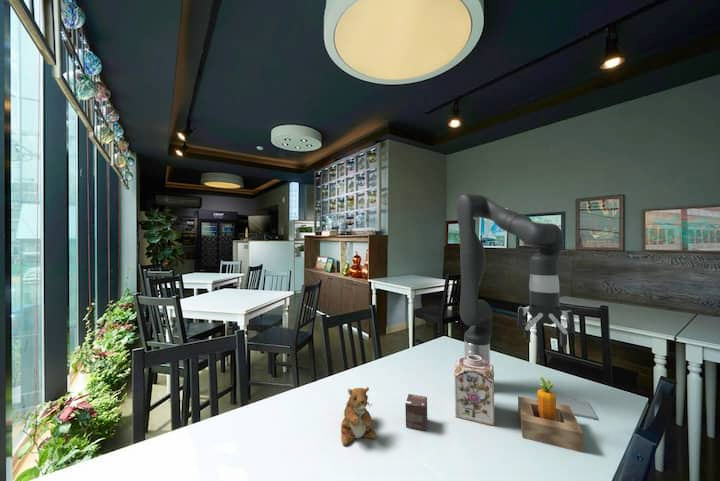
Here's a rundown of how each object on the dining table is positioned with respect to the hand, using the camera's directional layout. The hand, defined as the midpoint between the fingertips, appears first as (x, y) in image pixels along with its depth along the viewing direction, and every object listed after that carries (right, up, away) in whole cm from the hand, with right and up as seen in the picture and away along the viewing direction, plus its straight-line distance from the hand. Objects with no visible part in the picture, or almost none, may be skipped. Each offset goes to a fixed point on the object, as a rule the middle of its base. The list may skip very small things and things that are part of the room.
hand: (545, 343), depth 84 cm
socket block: (0, -25, -1) cm, 25 cm away
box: (-38, -26, +3) cm, 46 cm away
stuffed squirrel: (-57, -26, 0) cm, 62 cm away
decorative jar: (-18, -26, +9) cm, 33 cm away
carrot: (0, -26, -1) cm, 26 cm away
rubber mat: (+16, -25, +11) cm, 32 cm away
